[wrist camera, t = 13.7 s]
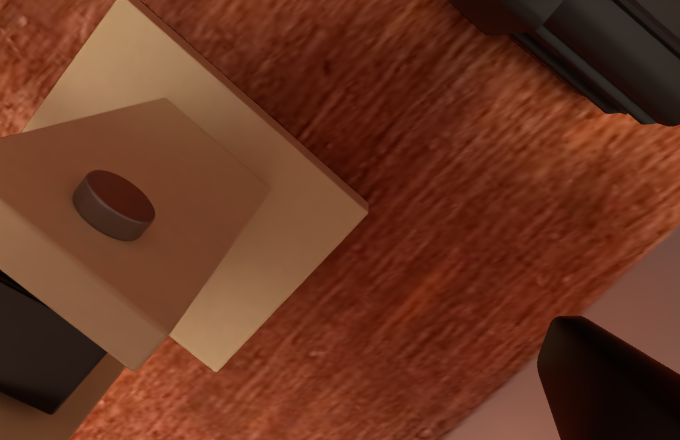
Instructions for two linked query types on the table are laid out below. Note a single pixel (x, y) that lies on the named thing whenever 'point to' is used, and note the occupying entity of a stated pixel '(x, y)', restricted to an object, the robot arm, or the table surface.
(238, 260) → the bracket
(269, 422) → the table surface
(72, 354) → the lever
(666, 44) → the end cap
